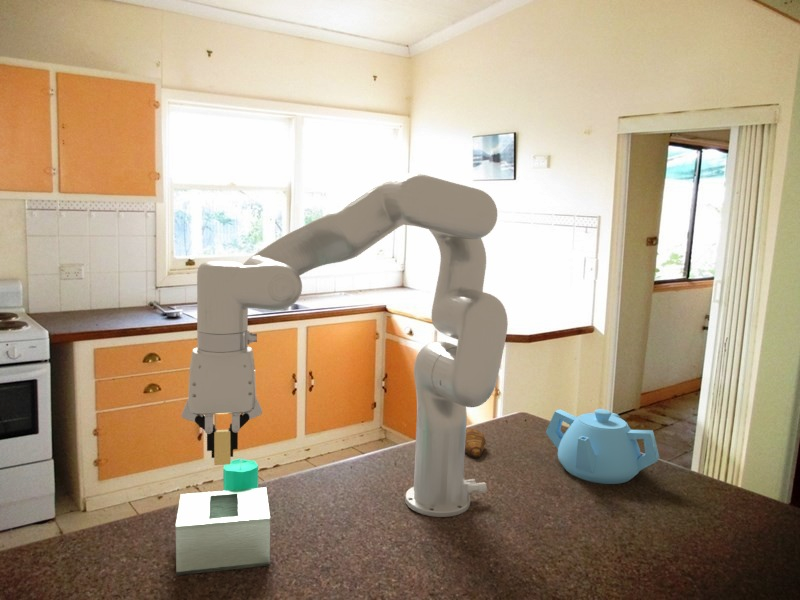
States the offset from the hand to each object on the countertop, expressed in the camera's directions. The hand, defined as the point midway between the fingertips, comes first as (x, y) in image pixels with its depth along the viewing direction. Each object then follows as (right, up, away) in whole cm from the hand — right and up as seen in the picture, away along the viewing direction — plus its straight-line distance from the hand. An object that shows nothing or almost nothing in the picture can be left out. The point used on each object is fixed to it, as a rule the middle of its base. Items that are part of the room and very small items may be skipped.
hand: (222, 453), depth 102 cm
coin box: (0, -17, +3) cm, 17 cm away
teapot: (+72, -14, +41) cm, 84 cm away
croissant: (+45, -11, +51) cm, 69 cm away
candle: (0, -15, +13) cm, 20 cm away
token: (-1, +1, +2) cm, 3 cm away
